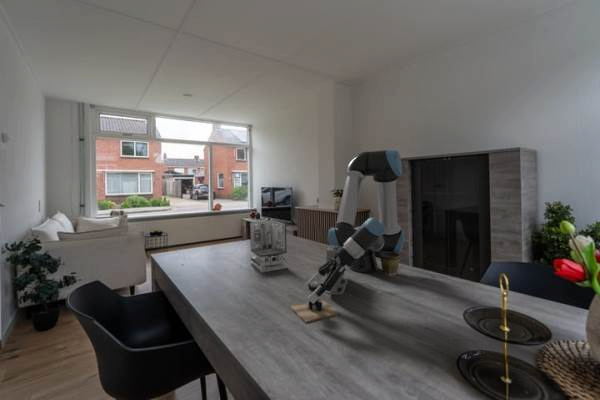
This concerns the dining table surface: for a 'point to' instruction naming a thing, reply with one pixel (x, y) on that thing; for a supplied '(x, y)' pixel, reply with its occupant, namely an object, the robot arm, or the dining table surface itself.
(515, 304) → the dining table surface
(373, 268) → the robot arm
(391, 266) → the ceramic cup
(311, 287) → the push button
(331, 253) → the network device
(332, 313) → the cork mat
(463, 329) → the dining table surface
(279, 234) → the analytical balance
